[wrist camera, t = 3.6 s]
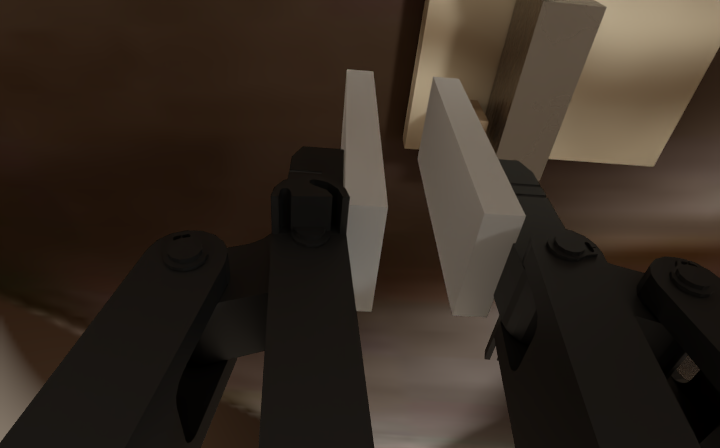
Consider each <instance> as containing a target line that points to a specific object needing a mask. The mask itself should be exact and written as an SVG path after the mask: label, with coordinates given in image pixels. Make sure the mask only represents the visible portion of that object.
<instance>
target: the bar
mask: <svg viewBox="0 0 720 448" xmlns="http://www.w3.org/2000/svg"><path fill="white" fill-rule="evenodd" d="M606 8H607V7H605V6H604V5H602V4H600V3H599V2H597V1H595V0H516V3H515V7H514V11H513V14H512V18H511V22H510V25H509V29H508V33H507V36H506V40H505V44H504V47H503V51H502V54H501V58H500V62H499V65H498V69H497V73H496V76H495V80H494V84H493V87H492V91H491V95H490V98H489V102H488V106H487V109H486V113H485V116H486V117H487V119H488V121H489V122H488V126H487V130H486V135H487V137H488V139H489V141H490V143H491V145H492V147H493V149H494V152H495V154H496V156H497V158H498V159H503V160H516V161H519V162H521V163H522V164H523V165H524V166H526V167H527V168H528V169H529V170H531V171H532V172H533V173H534V175H535V177H536V179H537V180H538V181H540V179H541V176H542V174H543V171H544V169H545V166H546V163H547V161H548V158H549V156H550V153H551V150H552V148H553V145H554V143H555V140H556V137H557V135H558V132H559V130H560V127H561V125H562V122H563V119H564V117H565V114H566V112H567V109H568V106H569V104H570V101H571V99H572V96H573V93H574V91H575V88H576V86H577V83H578V81H579V78H580V75H581V73H582V70H583V68H584V65H585V62H586V60H587V57H588V55H589V52H590V49H591V47H592V44H593V42H594V39H595V36H596V34H597V31H598V29H599V26H600V24H601V21H602V18H603V16H604V13H605V11H606Z"/></svg>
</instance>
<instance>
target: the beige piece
mask: <svg viewBox="0 0 720 448" xmlns="http://www.w3.org/2000/svg"><path fill="white" fill-rule="evenodd" d="M595 1H597V2H599V3H600V4H602V5H604V6H605V7H607V8H606V11H605V13H604V16H603V18H602V21H601V24H600V26H599V29H598V31H597V34H596V36H595V39H594V42H593V44H592V47H591V49H590V52H589V55H588V57H587V60H586V62H585V65H584V68H583V70H582V73H581V75H580V78H579V81H578V83H577V86H576V88H575V91H574V93H573V96H572V99H571V101H570V104H569V106H568V109H567V112H566V114H565V117H564V119H563V122H562V125H561V127H560V130H559V132H558V135H557V137H556V140H555V143H554V145H553V148H552V150H551V153H550V156H549V158H548V159H555V160H568V161H582V162H596V163H609V164H623V165H637V166H650V167H654V165H655V163H656V161H657V160H658V158H659V156H660V154H661V152H662V151H663V149H664V147H665V145H666V143H667V141H668V140H669V138H670V136H671V134H672V132H673V131H674V129H675V127H676V125H677V123H678V121H679V120H680V118H681V116H682V114H683V112H684V111H685V109H686V107H687V105H688V103H689V101H690V100H691V98H692V96H693V94H694V92H695V91H696V89H697V87H698V85H699V83H700V81H701V80H702V78H703V76H704V74H705V72H706V71H707V69H708V67H709V65H710V63H711V61H712V60H713V58H714V56H715V54H716V52H717V51H718V49H719V47H720V0H595ZM515 3H516V0H425V4H424V10H423V16H422V22H421V28H420V34H419V41H418V47H417V53H416V59H415V65H414V71H413V77H412V83H411V90H410V96H409V102H408V108H407V114H406V120H405V126H404V132H403V143H404V148H405V149H419V148H420V143H421V138H422V133H423V127H424V122H425V117H426V112H427V106H428V101H429V96H430V91H431V85H432V80H433V77H444V78H456V79H459V80H460V82H461V84H462V86H463V88H464V90H465V92H466V94H467V96H468V98H469V100H470V102H471V104H472V106H473V108H474V110H475V113H476V115H477V117H478V119H479V121H480V123H481V125H482V127H483V129H484V131H485V133H486V130H487V126H488V122H489V121H488V119H487V117H486V116H485V113H486V109H487V106H488V102H489V98H490V95H491V91H492V87H493V84H494V80H495V76H496V73H497V69H498V65H499V62H500V58H501V54H502V51H503V47H504V44H505V40H506V36H507V33H508V29H509V25H510V22H511V18H512V14H513V11H514V7H515Z"/></svg>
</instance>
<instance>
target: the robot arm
mask: <svg viewBox="0 0 720 448" xmlns="http://www.w3.org/2000/svg"><path fill="white" fill-rule="evenodd" d="M418 164H419V168H420V173H421V177H422V182H423V186H424V191H425V195H426V200H427V204H428V209H429V213H430V218H431V223H432V227H433V232H434V236H435V241H436V245H437V250H438V254H439V259H440V263H441V268H442V272H443V277H444V281H445V286H446V290H447V295H448V299H449V304H450V308H451V313H452V316H469V317H487V316H488V313H489V311H490V308H491V305H492V303H493V300H494V299H495V302H496V305H497V308H498V312H499V318H498V320H497V323H496V325H495V327H494V330H493V332H492V335H491V337H490V340H489V342H488V345H487V347H486V349H485V359H488V360H490V358H491V355H492V353H493V351H494V348H495V346H496V349H497V355H498V358H497V361H499V365H500V370H501V375H502V381H503V386H504V391H505V396H506V402H507V407H508V412H509V417H510V422H511V428H512V433H513V438H514V443H515V448H720V278H719V277H717V276H716V275H715V274H713V273H712V272H711V271H709V270H708V269H706V268H704V267H702V266H700V265H699V264H697V263H695V262H692V261H687V260H685V259H681V258H675V257H662V258H658V259H655V260H654V261H653V262H652V264H651V265H650V266H649V268H648V269H647V271H646V272H645V273H642V272H638V271H634V270H631V269H627V268H623V267H620V266H616V265H613V264H610V263H607V261H606V259H605V257H604V255H603V253H602V252H601V251H600V249H599V248H598V247H597V246H596V244H594V243H593V242H592V241H590V240H589V239H588V238H586V237H585V236H583V235H580V234H578V233H576V232H574V231H572V230H567V229H565V227H564V226H563V224H562V222H561V220H560V219H559V217H558V215H557V213H556V212H555V210H554V208H553V206H552V205H551V203H550V201H549V200H548V198H546V194H545V193H544V191H543V189H542V188H541V187H540V184H539V182H538V180H537V179H536V177H535V175H534V173H533V172H532V171H531V170H529V169H528V168H527V167H526V166H524V165H523V164H522V163H521V162H519V161H516V160H503V159H498V158H497V156H496V154H495V152H494V149H493V147H492V145H491V143H490V141H489V139H488V137H487V135H486V133H485V131H484V129H483V127H482V125H481V123H480V121H479V119H478V117H477V115H476V113H475V110H474V108H473V106H472V104H471V102H470V100H469V98H468V96H467V94H466V92H465V90H464V88H463V86H462V84H461V82H460V80H459V79H456V78H444V77H433V80H432V85H431V91H430V96H429V101H428V106H427V112H426V117H425V122H424V127H423V133H422V138H421V143H420V148H419V154H418ZM387 211H388V202H387V193H386V184H385V174H384V165H383V156H382V147H381V137H380V128H379V119H378V110H377V100H376V91H375V82H374V73H373V71H361V70H350V69H347V74H346V87H345V100H344V114H343V127H342V140H341V149H331V148H317V147H302V148H301V149H300V150H299V151H297V152H296V153H295V154H294V155H293V156H292V159H291V164H290V171H289V175H288V179H286V180H283V181H282V182H281V183H279V184H278V185H277V186H276V187H274V190H273V192H272V194H271V218H272V233H271V234H270V235H268V236H267V237H265V238H264V239H261V240H259V241H257V242H254V243H250V244H246V245H241V246H235V247H229V248H226V246H225V243H224V242H223V241H222V240H221V239H219V238H218V237H217V236H216V235H214V234H210V233H207V232H204V231H188V230H187V231H182V232H177V233H172V234H169V235H167V236H165V237H163V238H161V239H159V240H157V241H156V242H155V243H154V244H152V245H151V246H150V247H149V248H148V249H147V250H146V251H145V253H144V254H143V255H142V257H141V258H140V259H139V261H138V262H137V263H136V265H135V266H134V267H133V269H132V270H131V271H130V273H129V274H128V275H127V276H126V278H125V279H124V280H123V282H122V283H121V284H120V286H119V287H118V288H117V290H116V291H115V292H114V294H113V295H112V296H111V298H110V299H109V300H108V301H107V303H106V304H105V305H104V307H103V308H102V309H101V311H100V312H99V313H98V315H97V316H96V317H95V319H94V320H93V321H92V323H91V324H90V325H89V326H88V328H87V329H86V330H85V332H84V333H83V334H82V336H81V337H80V338H79V340H78V341H77V342H76V344H75V345H74V346H73V348H72V349H71V350H70V352H69V353H68V354H67V355H66V357H65V358H64V360H63V361H62V362H61V363H60V365H59V366H58V367H57V369H56V370H55V371H54V373H53V374H52V375H51V376H50V378H49V379H48V380H47V382H46V383H45V384H44V386H43V387H42V388H41V390H40V391H39V392H38V394H37V395H36V396H35V397H34V399H33V400H32V402H31V403H30V404H29V405H28V407H27V408H26V409H25V411H24V412H23V413H22V415H21V416H20V417H19V419H18V420H17V421H16V422H15V424H14V425H13V426H12V428H11V429H10V430H9V432H8V433H7V434H6V436H5V437H4V438H3V440H2V441H1V442H0V448H201V446H202V443H203V441H204V438H205V436H206V433H207V431H208V428H209V426H210V424H211V421H212V419H213V416H214V414H215V411H216V409H217V406H218V404H219V402H220V399H221V397H222V394H223V392H224V389H225V387H226V385H227V382H228V380H229V377H230V375H231V372H232V370H233V367H234V365H235V363H236V360H237V357H241V356H245V355H249V354H253V353H257V352H261V351H265V355H264V371H263V387H262V403H261V419H260V435H259V448H374V442H373V435H372V427H371V419H370V412H369V404H368V396H367V389H366V381H365V373H364V366H363V358H362V350H361V343H360V335H359V327H358V320H357V312H356V311H366V312H372V306H373V299H374V293H375V287H376V280H377V274H378V268H379V261H380V255H381V249H382V242H383V236H384V230H385V223H386V217H387ZM688 355H689V357H690V358H691V359H692V360H693V361H694V363H695V364H696V365H697V366H698V367H699V368H700V371H699V372H698V373H697V374H696V375H695V376H694V377H693V379H692V380H690V381H688V380H686V379H684V378H683V377H682V376H681V375H680V374H679V373H678V372H677V370H676V369H677V368H678V367H679V365H680V364H681V363H682V362H683V361H684V359H685V358H686V357H687V356H688Z"/></svg>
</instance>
